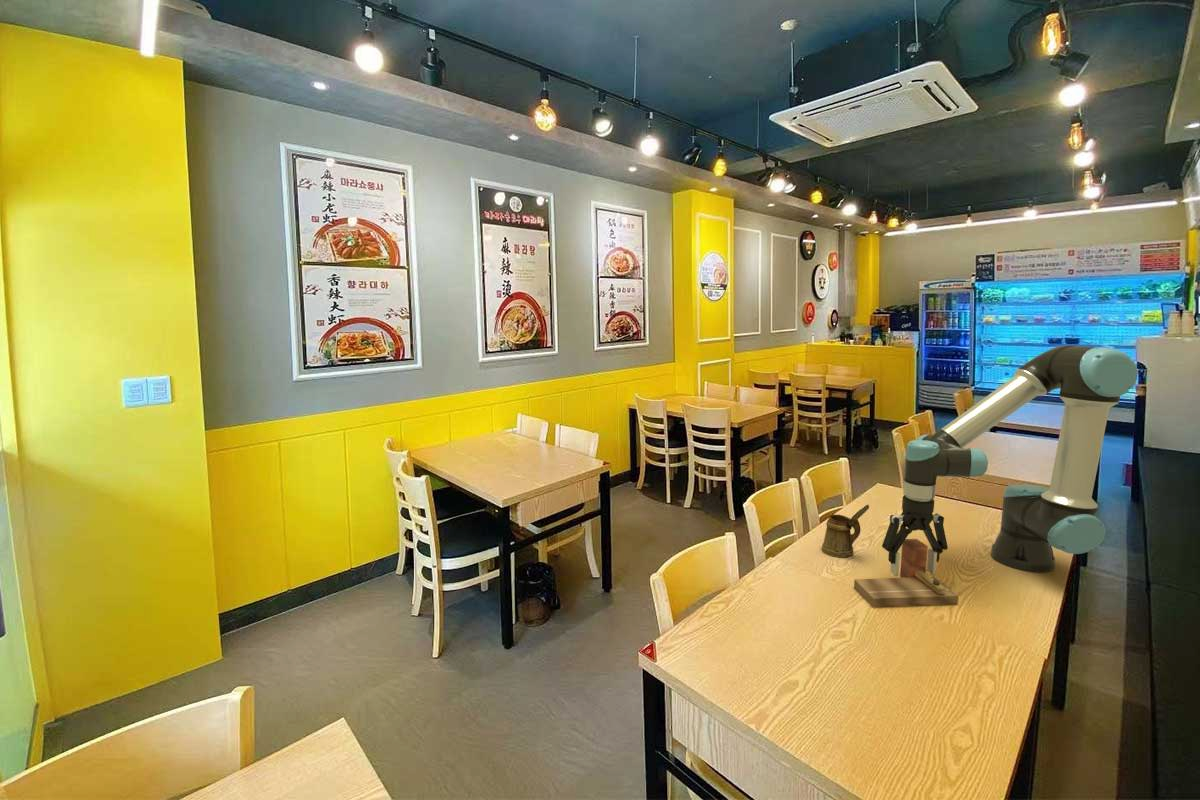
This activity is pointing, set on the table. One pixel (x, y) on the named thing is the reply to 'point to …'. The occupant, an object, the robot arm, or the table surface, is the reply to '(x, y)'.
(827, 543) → the wooden mug
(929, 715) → the table surface
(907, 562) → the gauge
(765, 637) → the table surface
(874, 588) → the board
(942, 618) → the table surface
